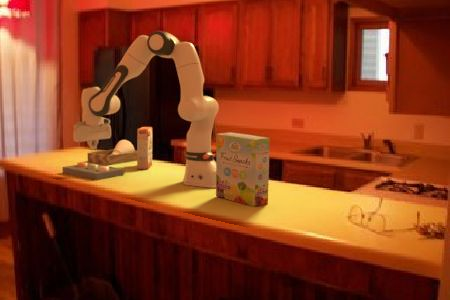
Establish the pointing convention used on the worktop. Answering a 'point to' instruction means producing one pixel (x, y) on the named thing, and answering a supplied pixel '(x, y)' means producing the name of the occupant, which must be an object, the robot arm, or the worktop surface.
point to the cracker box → (144, 147)
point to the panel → (93, 172)
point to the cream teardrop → (123, 147)
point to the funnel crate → (111, 157)
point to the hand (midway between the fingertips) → (93, 149)
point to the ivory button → (103, 168)
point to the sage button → (93, 166)
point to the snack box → (242, 168)
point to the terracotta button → (82, 164)
